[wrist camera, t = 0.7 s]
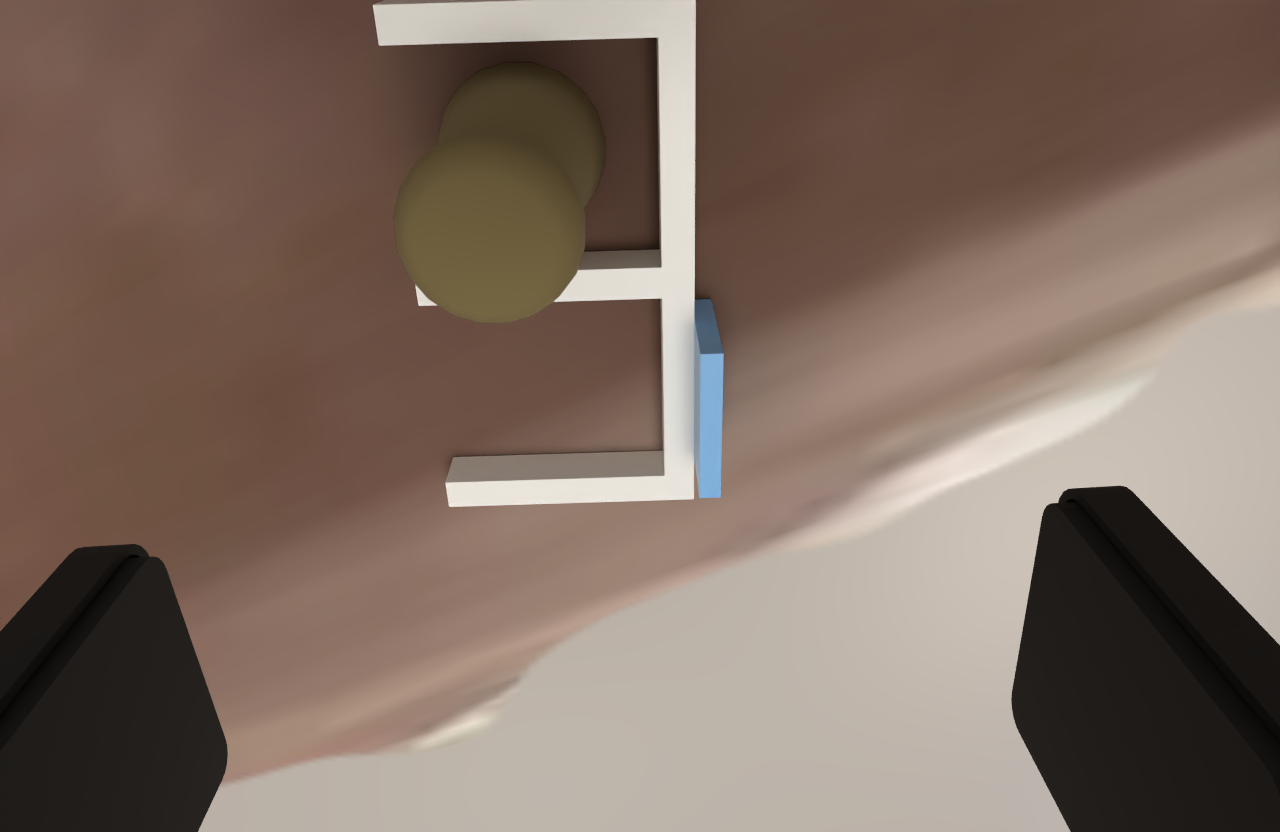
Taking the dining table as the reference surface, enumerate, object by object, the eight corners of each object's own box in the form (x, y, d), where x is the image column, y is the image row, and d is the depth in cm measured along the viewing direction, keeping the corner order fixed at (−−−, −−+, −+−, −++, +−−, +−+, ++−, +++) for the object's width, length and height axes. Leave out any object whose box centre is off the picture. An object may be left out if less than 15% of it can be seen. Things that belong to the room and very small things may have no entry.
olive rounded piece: (432, 216, 35) (361, 338, 25) (444, 46, 32) (368, 110, 22) (592, 242, 35) (582, 370, 26) (618, 78, 32) (618, 152, 23)
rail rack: (386, -2, 31) (348, 15, 27) (715, -11, 31) (731, 4, 27) (456, 480, 40) (436, 551, 36) (708, 472, 40) (719, 542, 36)
